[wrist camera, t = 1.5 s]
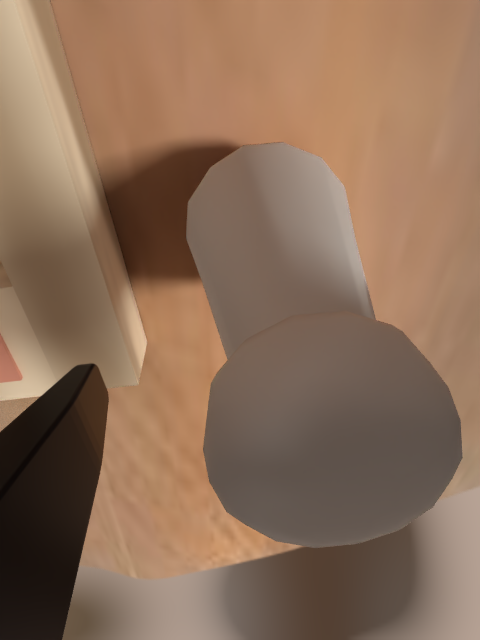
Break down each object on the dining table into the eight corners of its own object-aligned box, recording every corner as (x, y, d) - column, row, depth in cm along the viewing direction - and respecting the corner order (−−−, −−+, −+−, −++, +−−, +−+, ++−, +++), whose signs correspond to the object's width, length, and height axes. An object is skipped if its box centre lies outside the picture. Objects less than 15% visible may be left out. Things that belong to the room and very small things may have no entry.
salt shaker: (198, 276, 19) (179, 604, 8) (177, 137, 16) (100, 378, 5) (332, 263, 19) (487, 575, 8) (338, 121, 16) (609, 329, 5)
